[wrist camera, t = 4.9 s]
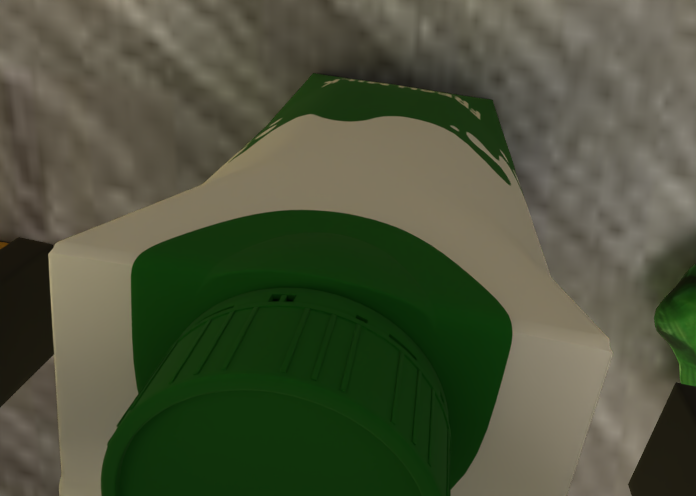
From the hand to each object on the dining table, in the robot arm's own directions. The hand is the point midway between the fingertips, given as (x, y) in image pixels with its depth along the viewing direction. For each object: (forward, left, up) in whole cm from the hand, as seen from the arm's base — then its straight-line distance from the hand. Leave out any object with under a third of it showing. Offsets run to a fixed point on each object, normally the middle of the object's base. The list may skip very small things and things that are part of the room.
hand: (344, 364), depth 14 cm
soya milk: (0, 0, -14) cm, 14 cm away
